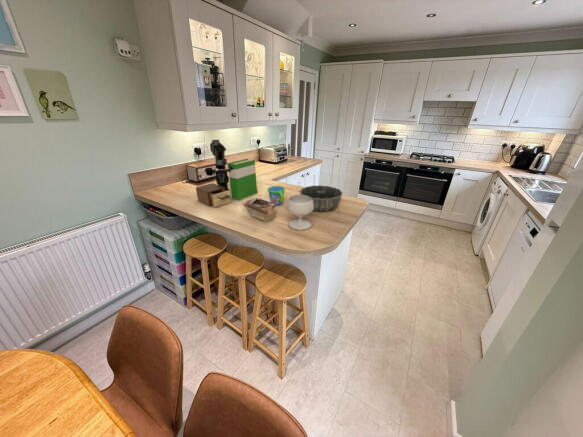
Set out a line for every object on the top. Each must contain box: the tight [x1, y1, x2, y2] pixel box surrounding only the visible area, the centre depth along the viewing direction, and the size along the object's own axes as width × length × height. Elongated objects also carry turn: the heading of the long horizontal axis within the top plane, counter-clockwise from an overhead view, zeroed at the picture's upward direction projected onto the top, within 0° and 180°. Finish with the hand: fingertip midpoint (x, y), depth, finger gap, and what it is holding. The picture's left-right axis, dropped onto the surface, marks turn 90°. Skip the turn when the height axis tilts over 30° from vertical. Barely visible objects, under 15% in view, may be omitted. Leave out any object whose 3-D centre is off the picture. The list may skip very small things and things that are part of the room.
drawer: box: [209, 189, 231, 208], centre depth 149 cm, size 18×11×8 cm, turn 48°
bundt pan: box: [299, 184, 344, 212], centre depth 145 cm, size 26×26×10 cm
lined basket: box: [242, 197, 277, 223], centre depth 131 cm, size 13×20×10 cm, turn 44°
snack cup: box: [267, 185, 286, 206], centre depth 150 cm, size 16×10×10 cm
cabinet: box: [195, 182, 225, 207], centre depth 154 cm, size 15×13×10 cm
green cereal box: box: [227, 158, 258, 201], centre depth 160 cm, size 18×7×24 cm, turn 145°
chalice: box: [286, 194, 314, 231], centre depth 121 cm, size 14×14×15 cm
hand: (222, 182), depth 148 cm, fingers closed
